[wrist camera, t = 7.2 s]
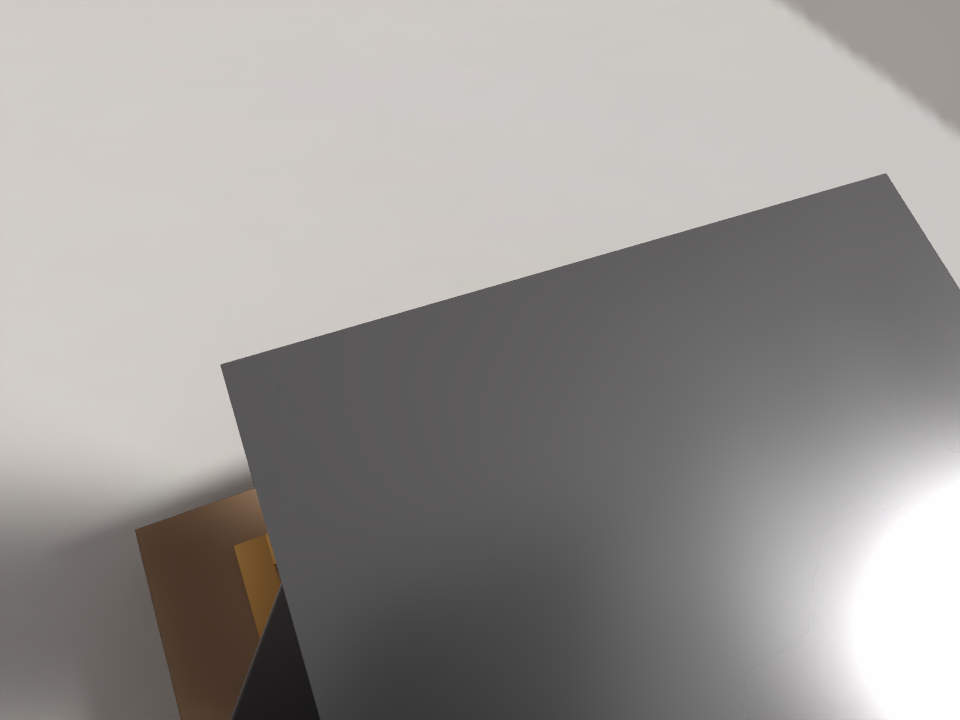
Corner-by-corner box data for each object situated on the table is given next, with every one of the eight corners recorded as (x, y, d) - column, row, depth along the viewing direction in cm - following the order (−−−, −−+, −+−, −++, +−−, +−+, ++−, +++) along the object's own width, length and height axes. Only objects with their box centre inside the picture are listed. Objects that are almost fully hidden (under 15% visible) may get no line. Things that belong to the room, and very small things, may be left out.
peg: (511, 499, 16) (886, 173, 4) (579, 677, 15) (1346, 898, 3) (340, 562, 15) (218, 364, 3) (401, 759, 14) (548, 1532, 2)
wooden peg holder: (772, 325, 26) (825, 286, 23) (916, 585, 23) (998, 580, 20) (167, 542, 20) (131, 528, 17) (263, 917, 18) (240, 979, 15)
